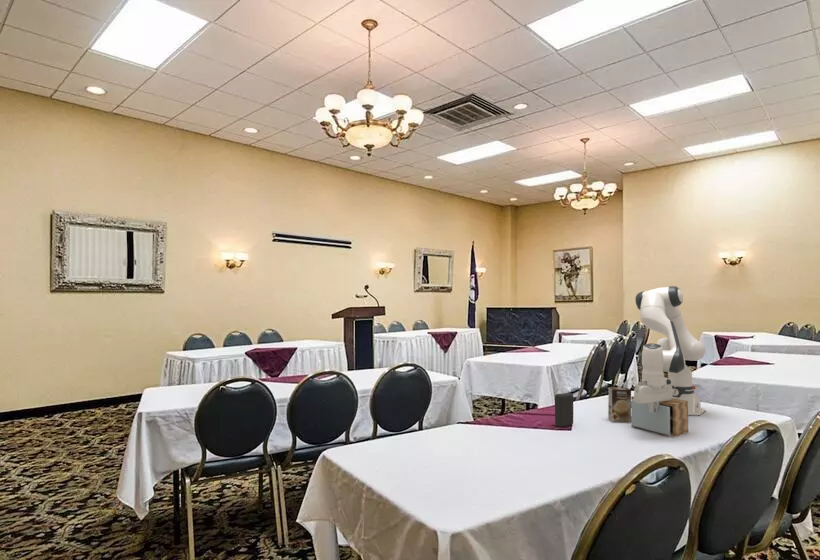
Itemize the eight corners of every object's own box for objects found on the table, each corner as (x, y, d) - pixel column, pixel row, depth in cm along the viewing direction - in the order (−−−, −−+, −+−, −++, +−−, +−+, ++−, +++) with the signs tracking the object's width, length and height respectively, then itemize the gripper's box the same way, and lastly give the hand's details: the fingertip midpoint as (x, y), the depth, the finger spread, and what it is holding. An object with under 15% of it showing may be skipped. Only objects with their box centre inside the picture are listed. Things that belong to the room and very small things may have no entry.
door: (631, 424, 231) (631, 398, 231) (670, 434, 214) (669, 407, 215) (630, 425, 230) (629, 399, 230) (668, 435, 214) (668, 407, 214)
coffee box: (612, 422, 238) (611, 389, 239) (608, 419, 245) (607, 386, 245) (631, 423, 237) (631, 389, 238) (627, 419, 244) (626, 387, 244)
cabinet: (645, 422, 238) (644, 393, 238) (688, 432, 222) (687, 401, 222) (631, 426, 231) (631, 396, 231) (675, 436, 215) (674, 404, 215)
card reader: (567, 423, 237) (567, 392, 237) (574, 425, 233) (574, 393, 234) (554, 425, 232) (553, 393, 233) (560, 427, 229) (560, 395, 229)
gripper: (641, 383, 211) (642, 415, 211) (675, 380, 219) (675, 411, 219) (629, 381, 217) (630, 412, 217) (662, 378, 225) (663, 408, 225)
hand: (653, 411), depth 218 cm, fingers closed
